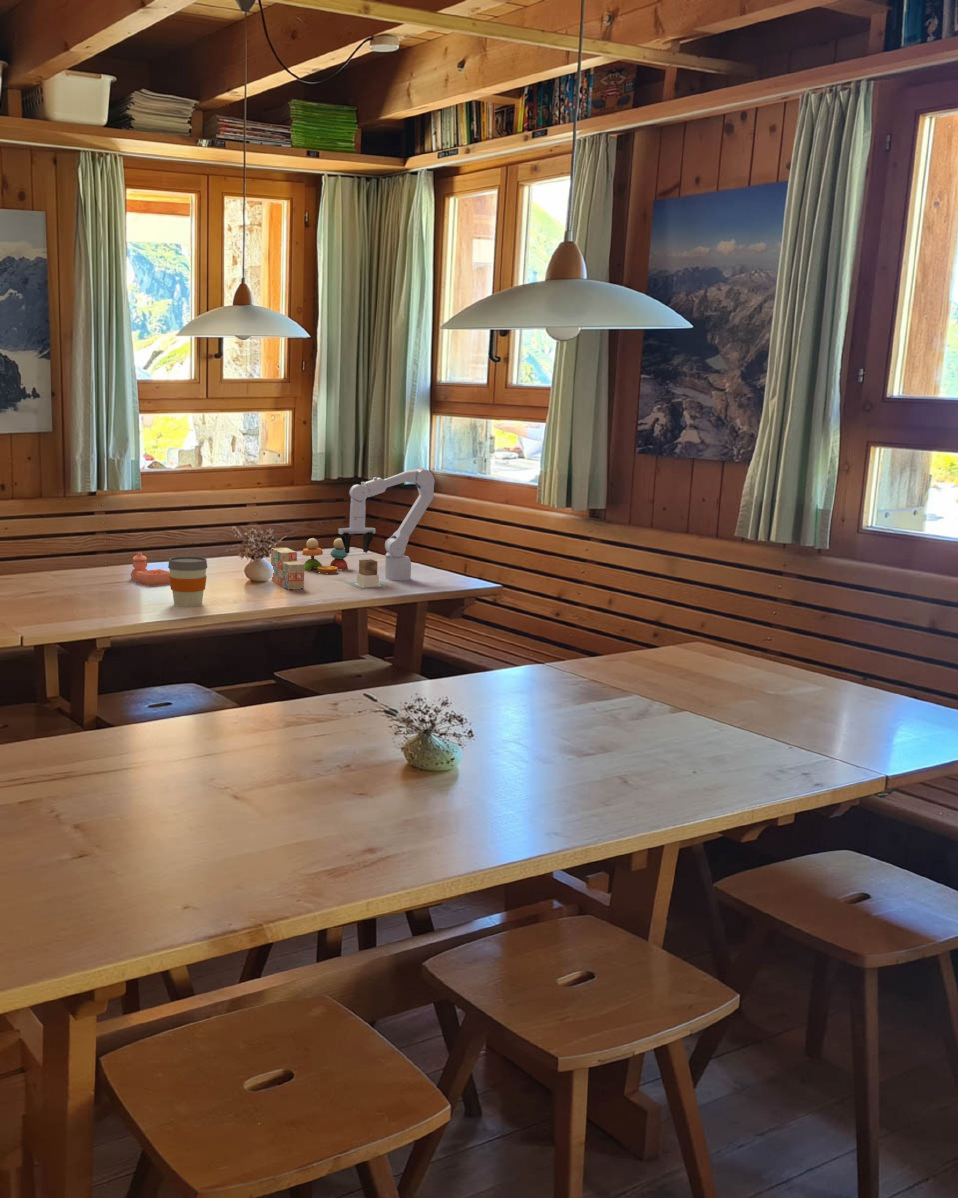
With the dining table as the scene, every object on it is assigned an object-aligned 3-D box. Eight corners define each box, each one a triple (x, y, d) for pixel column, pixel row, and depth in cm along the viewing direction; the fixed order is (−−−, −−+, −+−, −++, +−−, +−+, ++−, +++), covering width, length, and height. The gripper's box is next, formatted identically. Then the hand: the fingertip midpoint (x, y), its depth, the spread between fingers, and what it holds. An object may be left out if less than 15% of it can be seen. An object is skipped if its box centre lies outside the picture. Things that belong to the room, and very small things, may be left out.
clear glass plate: (373, 581, 445) (373, 580, 445) (390, 588, 434) (390, 586, 434) (344, 583, 439) (344, 582, 439) (361, 590, 428) (361, 589, 427)
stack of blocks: (304, 589, 425) (304, 555, 423) (287, 590, 423) (287, 556, 420) (286, 579, 444) (287, 546, 442) (270, 580, 441) (270, 547, 439)
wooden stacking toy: (321, 575, 455) (321, 543, 453) (298, 568, 468) (298, 537, 466) (360, 572, 466) (361, 540, 464) (337, 565, 479) (337, 535, 477)
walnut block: (371, 572, 439) (371, 559, 438) (377, 574, 435) (377, 561, 434) (358, 573, 437) (359, 560, 436) (364, 575, 432) (365, 562, 431)
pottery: (173, 584, 426) (173, 557, 424) (150, 586, 419) (149, 559, 417) (147, 576, 438) (146, 550, 436) (124, 579, 431) (123, 552, 429)
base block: (371, 583, 440) (371, 572, 440) (378, 585, 436) (378, 575, 435) (356, 583, 437) (356, 573, 437) (364, 586, 432) (364, 575, 432)
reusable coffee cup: (212, 606, 389) (212, 561, 386) (174, 608, 383) (174, 563, 380) (201, 599, 400) (200, 555, 397) (164, 601, 394) (163, 557, 391)
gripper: (370, 515, 451) (368, 550, 453) (335, 515, 443) (334, 551, 446) (378, 517, 445) (377, 553, 448) (343, 518, 437) (342, 554, 440)
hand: (356, 552), depth 446 cm, fingers open, 7 cm apart
